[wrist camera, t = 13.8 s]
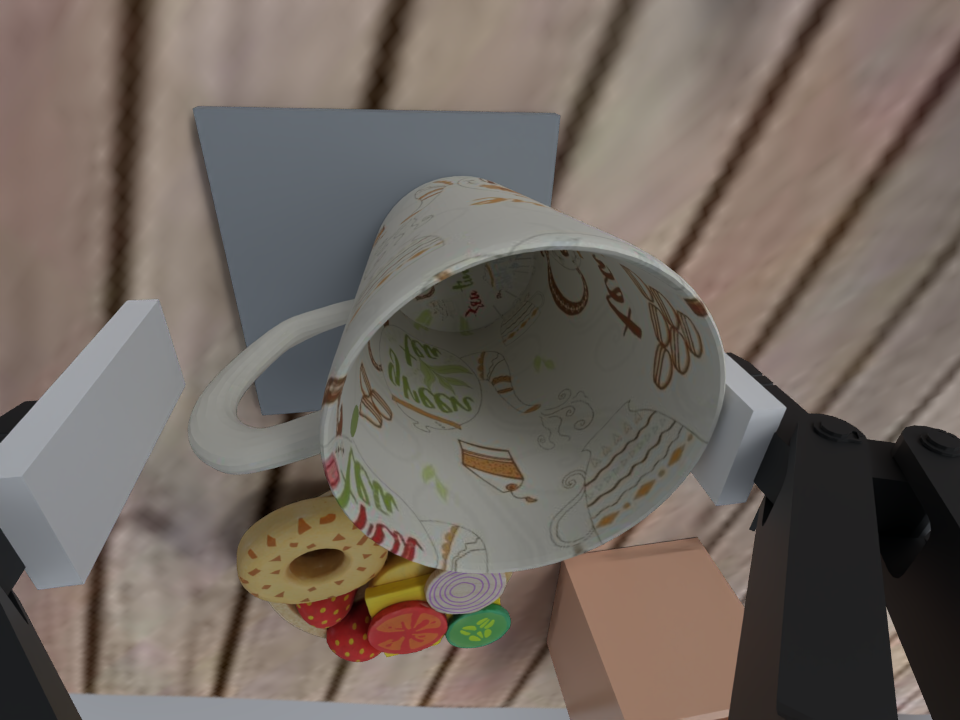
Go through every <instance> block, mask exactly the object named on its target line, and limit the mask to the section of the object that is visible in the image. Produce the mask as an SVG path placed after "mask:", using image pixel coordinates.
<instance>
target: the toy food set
mask: <svg viewBox="0 0 960 720" xmlns="http://www.w3.org/2000/svg"><path fill="white" fill-rule="evenodd" d="M237 572H238V577H239V580H240V582H241V584H242V585H243V586H244V588H245V589H246V590H247V591H248V592H249V593H251V594H252V595H254V596H255V597H257V598H260V599H262V600H265V601H268V602H269V603H270V605H271V606H272V608H273V609H274V610H275V611H276V612H277V613H278V614H279V615H280V616H281V617H282V618H283V619H284V620H286V621H287V622H289V623H290V624H292V625H293V626H295V627H297V628H299V629H301V630H303V631H305V632H307V633H310V634H312V635H315V636H318V637H322V638H326V639H327V643H328V645H329V647H330V649H331V650H332V651H333V652H334V653H335V654H336V655H338V656H339V657H341V658H343V659H345V660H348V661H352V662H363V661H367V660H370V659H372V658H374V657H376V656H377V655H379V654H380V653H381V652H384V653H385V655H386V657H390V656H394V655H398V654H408V653H413V652H417V651H421V650H423V649H425V648H428V647H429V646H434V645H437V644H439V643H440V641H441V639H442V637H443V636H444V635H445V636H446V638H447V641H448V642H449V643H450V644H452V645H453V646H456V647H459V648H476V647H481V646H485V645H488V644H490V643H492V642H494V641H496V640H498V639H499V638H501V637H502V636H503V635H504V634H505V633H506V632H507V631H508V629H509V628H510V625H511V619H510V616H509V613H508V612H507V610H506V609H504V608H503V607H502V606H501V604H500V596H501V594H502V593H503V591H504V589H505V586H506V584H507V582H508V581H509V579H510V578H511V576H512V573H513V572H504V573H462V572H454V571H447V570H442V569H437V568H433V567H428V566H425V565H422V564H419V563H416V562H413V561H410V560H408V559H405V558H403V557H401V556H398V555H396V554H394V553H392V552H390V551H389V550H387V549H385V548H383V547H381V546H380V545H379V544H377V543H376V542H374V541H373V540H371V539H370V538H369V537H367V536H366V535H365V534H364V533H363V532H362V531H361V530H359V529H358V528H357V527H356V526H355V525H354V524H353V522H352V521H351V520H350V519H349V518H348V517H347V516H346V514H345V513H344V511H343V510H342V509H341V507H340V506H339V504H338V503H337V501H336V499H335V497H334V495H333V493H332V491H331V490H330V491H328V492H326V493H324V494H322V495H320V496H318V497H316V498H311V499H306V500H302V501H298V502H296V503H292V504H289V505H287V506H284V507H282V508H279V509H277V510H275V511H273V512H271V513H270V514H268V515H266V516H265V517H263V518H262V519H260V520H259V521H257V522H256V523H255V524H254V525H253V526H251V527H250V528H249V529H248V530H247V531H246V532H245V534H244V535H243V537H242V538H241V540H240V543H239V545H238V549H237Z"/></svg>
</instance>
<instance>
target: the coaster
mask: <svg viewBox="0 0 960 720" xmlns="http://www.w3.org/2000/svg"><path fill="white" fill-rule="evenodd" d="M193 112H194V117H195V121H196V126H197V130H198V134H199V139H200V143H201V148H202V152H203V156H204V161H205V165H206V170H207V174H208V179H209V183H210V187H211V192H212V196H213V201H214V205H215V210H216V214H217V218H218V223H219V227H220V232H221V236H222V240H223V245H224V249H225V254H226V258H227V263H228V267H229V271H230V276H231V280H232V285H233V289H234V294H235V298H236V302H237V307H238V311H239V316H240V320H241V324H242V329H243V333H244V338H245V342H246V347H248V346H250V345H251V344H252V343H253V342H255V341H256V340H257V339H259V338H260V337H261V336H263V335H264V334H265V333H267V332H268V331H269V330H271V329H272V328H274V327H275V326H277V325H278V324H280V323H281V322H283V321H285V320H287V319H289V318H291V317H294V316H297V315H300V314H303V313H306V312H309V311H313V310H316V309H319V308H323V307H326V306H329V305H332V304H336V303H340V302H343V301H347V300H352V299H355V296H356V294H357V291H358V288H359V285H360V282H361V279H362V276H363V273H364V271H365V268H366V265H367V262H368V259H369V256H370V253H371V250H372V248H373V245H374V242H375V239H376V236H377V234H378V232H379V229H380V227H381V225H382V223H383V221H384V220H385V218H386V216H387V215H388V214H389V212H390V211H391V209H392V208H393V207H394V206H395V205H396V204H397V203H398V202H399V201H400V200H401V199H402V198H403V197H404V196H406V195H407V194H408V193H410V192H411V191H413V190H414V189H416V188H417V187H419V186H421V185H423V184H425V183H428V182H431V181H433V180H437V179H440V178H445V177H452V176H471V177H477V178H482V179H486V180H489V181H492V182H495V183H497V184H500V185H502V186H504V187H506V188H509V189H511V190H513V191H515V192H517V193H520V194H522V195H524V196H526V197H529V198H531V199H533V200H535V201H537V202H540V203H542V204H544V205H546V206H549V207H551V198H552V188H553V179H554V170H555V161H556V151H557V142H558V133H559V124H560V115H558V114H556V113H523V112H471V111H420V110H368V109H316V108H265V107H213V106H198V107H195V108H193ZM345 325H346V324H344V325H341V326H338V327H336V328H333V329H330V330H327V331H325V332H322V333H320V334H318V335H315V336H313V337H311V338H309V339H307V340H305V341H303V342H301V343H299V344H297V345H295V346H294V347H292V348H290V349H288V350H287V351H286V352H284V353H283V354H282V355H281V356H280V357H279V358H278V359H276V360H275V361H274V362H273V363H272V364H271V365H270V366H269V367H268V368H267V369H266V370H265V371H264V372H263V373H262V374H261V375H260V376H259V377H258V378H257V379H256V380H255V381H254V382H255V386H256V391H257V395H258V400H259V404H260V408H261V413H262V415H273V414H286V413H298V412H310V411H319V410H321V407H322V401H323V396H324V392H325V387H326V383H327V379H328V375H329V372H330V369H331V366H332V363H333V360H334V357H335V354H336V351H337V348H338V345H339V343H340V340H341V337H342V334H343V331H344V328H345Z"/></svg>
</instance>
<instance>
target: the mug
mask: <svg viewBox="0 0 960 720" xmlns="http://www.w3.org/2000/svg"><path fill="white" fill-rule="evenodd" d="M344 324H346V325H345V328H344V331H343V334H342V337H341V340H340V343H339V345H338V348H337V351H336V354H335V357H334V360H333V363H332V366H331V369H330V372H329V375H328V379H327V383H326V387H325V392H324V396H323V401H322V407H321V410H319V411H316V412H314V413H311V414H308V415H305V416H303V417H300V418H297V419H294V420H292V421H289V422H286V423H282V424H279V425H275V426H272V427H268V428H254V427H250V426H248V425H245V424H243V423H242V422H241V421H240V420H239V419H238V417H237V415H236V412H237V406H238V403H239V401H240V399H241V398H242V396H243V395H244V393H245V392H246V391H247V389H248V388H249V387H250V386H251V385H252V384H253V382H254V381H255V380H256V379H257V378H258V377H259V376H260V375H261V374H262V373H263V372H264V371H265V370H266V369H267V368H268V367H269V366H270V365H271V364H272V363H273V362H274V361H275V360H276V359H278V358H279V357H280V356H281V355H282V354H283V353H284V352H286V351H287V350H288V349H290V348H292V347H294V346H295V345H297V344H299V343H301V342H303V341H305V340H307V339H309V338H311V337H313V336H315V335H318V334H320V333H322V332H325V331H327V330H330V329H333V328H336V327H338V326H341V325H344ZM725 383H726V364H725V356H724V350H723V344H722V341H721V338H720V335H719V331H718V329H717V327H716V324H715V322H714V320H713V318H712V316H711V314H710V313H709V311H708V309H707V308H706V306H705V304H704V303H703V301H702V300H701V299H700V298H699V296H698V295H697V294H696V292H695V291H694V290H693V288H692V287H691V286H690V285H689V284H688V283H687V282H686V281H685V280H684V279H683V278H682V277H681V276H679V275H678V274H677V273H675V272H674V271H673V270H672V269H670V268H669V267H668V266H666V265H665V264H664V263H663V262H661V261H660V260H658V259H657V258H655V257H653V256H652V255H650V254H648V253H647V252H645V251H643V250H641V249H639V248H638V247H636V246H634V245H632V244H630V243H628V242H626V241H624V240H622V239H620V238H618V237H615V236H613V235H611V234H609V233H606V232H604V231H602V230H600V229H598V228H595V227H593V226H591V225H589V224H586V223H584V222H582V221H580V220H578V219H575V218H573V217H571V216H569V215H566V214H564V213H562V212H560V211H558V210H555V209H553V208H551V207H549V206H546V205H544V204H542V203H540V202H537V201H535V200H533V199H531V198H529V197H526V196H524V195H522V194H520V193H517V192H515V191H513V190H511V189H509V188H506V187H504V186H502V185H500V184H497V183H495V182H492V181H489V180H486V179H482V178H477V177H471V176H452V177H445V178H440V179H437V180H433V181H431V182H428V183H425V184H423V185H421V186H419V187H417V188H416V189H414V190H413V191H411V192H410V193H408V194H407V195H406V196H404V197H403V198H402V199H401V200H400V201H399V202H398V203H397V204H396V205H395V206H394V207H393V208H392V209H391V211H390V212H389V214H388V215H387V216H386V218H385V220H384V221H383V223H382V225H381V227H380V229H379V232H378V234H377V236H376V239H375V242H374V245H373V248H372V250H371V253H370V256H369V259H368V262H367V265H366V268H365V271H364V273H363V276H362V279H361V282H360V285H359V288H358V291H357V294H356V296H355V299H352V300H347V301H343V302H340V303H336V304H332V305H329V306H326V307H323V308H319V309H316V310H313V311H309V312H306V313H303V314H300V315H297V316H294V317H291V318H289V319H287V320H285V321H283V322H281V323H280V324H278V325H277V326H275V327H274V328H272V329H271V330H269V331H268V332H267V333H265V334H264V335H263V336H261V337H260V338H259V339H257V340H256V341H255V342H253V343H252V344H251V345H250V346H248V347H247V348H246V349H245V350H244V351H243V352H241V353H240V354H239V355H238V356H237V357H236V358H235V359H234V360H232V361H231V362H230V363H229V364H228V365H227V366H226V367H225V368H224V369H223V370H222V371H221V372H220V373H219V374H218V375H217V376H216V377H215V378H214V379H213V380H212V381H211V383H210V384H209V385H208V386H207V387H206V389H205V390H204V391H203V393H202V394H201V395H200V397H199V399H198V401H197V402H196V404H195V406H194V408H193V411H192V414H191V417H190V419H189V425H188V437H189V442H190V445H191V447H192V449H193V451H194V453H195V454H196V455H197V456H198V458H199V459H201V460H202V461H203V462H204V463H206V464H207V465H209V466H211V467H212V468H214V469H216V470H218V471H221V472H224V473H227V474H249V473H255V472H259V471H264V470H268V469H272V468H276V467H280V466H283V465H286V464H289V463H293V462H296V461H299V460H302V459H306V458H308V457H311V456H314V455H317V454H320V453H321V459H322V463H323V467H324V471H325V476H326V478H327V481H328V484H329V486H330V489H331V491H332V493H333V495H334V497H335V499H336V501H337V503H338V504H339V506H340V507H341V509H342V510H343V511H344V513H345V514H346V516H347V517H348V518H349V519H350V520H351V521H352V522H353V524H354V525H355V526H356V527H357V528H358V529H359V530H361V531H362V532H363V533H364V534H365V535H366V536H367V537H369V538H370V539H371V540H373V541H374V542H376V543H377V544H379V545H380V546H381V547H383V548H385V549H387V550H389V551H390V552H392V553H394V554H396V555H398V556H401V557H403V558H405V559H408V560H410V561H413V562H416V563H419V564H422V565H425V566H428V567H433V568H437V569H442V570H447V571H454V572H462V573H504V572H514V571H522V570H527V569H533V568H538V567H542V566H546V565H550V564H554V563H557V562H560V561H563V560H566V559H569V558H572V557H575V556H578V555H580V554H582V553H585V552H587V551H590V550H592V549H594V548H596V547H598V546H600V545H602V544H604V543H606V542H608V541H610V540H612V539H614V538H615V537H617V536H619V535H621V534H622V533H624V532H625V531H627V530H628V529H630V528H632V527H633V526H634V525H636V524H637V523H639V522H640V521H641V520H643V519H644V518H646V517H647V516H648V515H649V514H650V513H652V512H653V511H654V510H655V509H657V508H658V507H659V506H660V505H661V504H662V503H663V502H664V501H665V500H666V499H667V498H668V497H669V496H670V495H671V494H672V493H673V492H674V491H675V490H676V489H677V488H678V487H679V486H680V485H681V483H682V482H683V481H684V480H685V479H686V477H687V476H688V475H689V473H690V472H691V471H692V469H693V468H694V467H695V465H696V464H697V462H698V460H699V459H700V457H701V456H702V454H703V452H704V451H705V449H706V447H707V445H708V443H709V441H710V439H711V437H712V434H713V432H714V429H715V427H716V424H717V422H718V419H719V415H720V412H721V408H722V404H723V399H724V393H725Z"/></svg>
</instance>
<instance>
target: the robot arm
mask: <svg viewBox="0 0 960 720" xmlns="http://www.w3.org/2000/svg"><path fill="white" fill-rule="evenodd" d="M724 356H725V364H726V383H725V393H724V399H723V404H722V408H721V412H720V415H719V419H718V422H717V424H716V427H715V429H714V432H713V434H712V437H711V439H710V441H709V443H708V445H707V447H706V449H705V451H704V452H703V454H702V456H701V457H700V459H699V460H698V462H697V464H696V465H695V467H694V468H693V469H692V471H691V472H692V474H693V475H694V477H695V478H696V479H697V481H698V482H699V483H700V485H701V486H702V487H703V489H704V490H705V491H706V493H707V494H708V496H709V497H710V498H711V500H712V501H713V502H714V504H715V505H716V506H720V505H728V504H736V503H744V502H746V501H747V498H748V496H749V494H750V491H751V489H752V487H753V485H754V483H755V484H756V485H757V486H758V487H759V488H760V490H761V491H762V492H763V493H764V494H765V496H764V498H763V500H762V502H761V505H760V507H759V509H758V511H757V513H756V516H755V518H754V520H753V522H752V524H751V527H750V530H752V531H755V530H756V534H755V541H754V548H753V554H752V561H751V568H750V575H749V581H748V588H747V595H746V602H745V608H744V615H743V622H742V628H741V635H740V642H739V649H738V655H737V662H736V669H735V676H734V682H733V689H732V696H731V703H730V709H729V716H728V720H898V716H897V706H896V697H895V687H894V678H893V668H892V659H891V650H890V640H889V631H888V621H887V612H886V607H887V610H888V612H889V614H890V617H891V619H892V622H893V624H894V627H895V629H896V632H897V634H898V636H899V639H900V641H901V644H902V646H903V649H904V651H905V653H906V656H907V658H908V661H909V663H910V666H911V668H912V671H913V673H914V675H915V678H916V680H917V683H918V685H919V688H920V690H921V692H922V695H923V697H924V700H925V702H926V705H927V707H928V710H929V712H930V714H931V717H932V719H933V720H960V439H959V438H957V437H956V436H955V435H953V434H951V433H949V432H948V433H946V431H943V430H940V429H934V428H930V427H927V426H915V425H914V426H910V427H906V428H905V429H904V430H903V431H902V433H901V435H900V436H899V438H898V440H897V441H896V443H891V442H884V441H876V440H868V439H866V437H865V435H864V434H863V433H862V432H861V431H859V430H858V429H857V428H856V427H854V426H853V425H851V424H849V423H847V422H846V421H843V420H841V419H838V418H836V417H833V416H829V415H824V414H808V413H807V412H806V411H805V410H804V409H803V408H801V407H800V406H799V405H798V404H797V403H796V402H795V401H793V400H792V399H791V398H790V397H789V396H788V395H786V394H785V393H784V392H783V391H782V390H781V389H780V388H778V387H777V386H776V385H773V382H771V381H770V380H769V379H768V378H767V377H766V376H762V373H761V372H760V371H759V370H758V369H756V368H755V367H754V366H753V365H752V364H751V363H749V362H748V361H746V360H744V359H742V358H740V357H738V356H736V355H734V354H732V353H725V352H724ZM185 385H186V384H185V381H184V378H183V375H182V372H181V368H180V365H179V362H178V359H177V356H176V352H175V349H174V346H173V343H172V340H171V336H170V333H169V330H168V327H167V323H166V320H165V317H164V314H163V311H162V307H161V304H160V301H159V299H152V300H127V301H126V302H125V303H124V305H123V306H122V307H121V308H120V309H119V310H118V311H117V312H116V314H115V315H114V316H113V317H112V318H111V319H110V320H109V322H108V323H107V324H106V325H105V326H104V327H103V328H102V329H101V331H100V332H99V333H98V334H97V335H96V336H95V337H94V338H93V340H92V341H91V342H90V343H89V344H88V345H87V346H86V347H85V349H84V350H83V351H82V352H81V353H80V354H79V355H78V356H77V358H76V359H75V360H74V361H73V362H72V363H71V364H70V365H69V367H68V368H67V369H66V370H65V371H64V372H63V373H62V374H61V376H60V377H59V378H58V379H57V380H56V381H55V382H54V383H53V385H52V386H51V387H50V388H49V389H48V390H47V391H46V392H45V394H44V395H43V396H42V397H41V398H40V399H39V400H38V401H26V402H23V403H22V404H20V405H18V406H17V407H15V408H14V409H12V410H10V411H9V412H7V413H6V414H4V415H2V416H1V417H0V720H82V719H81V717H80V715H79V713H78V712H77V709H76V707H75V706H74V704H73V702H72V700H71V698H70V696H69V694H68V692H67V690H66V688H65V686H64V684H63V682H62V681H61V679H60V677H59V675H58V673H57V671H56V669H55V667H54V665H53V663H52V661H51V659H50V658H49V656H48V654H47V652H46V650H45V648H44V646H43V644H42V642H41V640H40V638H39V637H38V635H37V633H36V631H35V629H34V627H33V625H32V623H31V621H30V619H29V617H28V615H27V614H26V612H25V610H24V608H23V606H22V604H21V602H20V600H19V599H18V597H17V596H16V594H15V593H14V592H13V590H12V588H13V587H14V585H15V584H16V582H17V580H18V579H19V577H20V576H21V574H22V573H23V571H24V570H25V571H26V573H27V574H28V576H29V577H30V579H31V580H32V582H33V583H34V585H35V586H36V588H37V589H38V590H40V589H48V588H56V587H64V586H72V585H80V584H84V583H85V581H86V579H87V577H88V575H89V573H90V571H91V569H92V567H93V565H94V563H95V561H96V559H97V557H98V555H99V553H100V552H101V550H102V548H103V546H104V544H105V542H106V540H107V538H108V536H109V534H110V532H111V530H112V528H113V526H114V524H115V522H116V520H117V518H118V516H119V514H120V512H121V510H122V508H123V506H124V505H125V503H126V501H127V499H128V497H129V495H130V493H131V491H132V489H133V487H134V485H135V483H136V481H137V479H138V477H139V475H140V473H141V471H142V469H143V467H144V465H145V463H146V461H147V460H148V458H149V456H150V454H151V452H152V450H153V448H154V446H155V444H156V442H157V440H158V438H159V436H160V434H161V432H162V430H163V428H164V426H165V424H166V422H167V420H168V418H169V416H170V414H171V413H172V411H173V409H174V407H175V405H176V403H177V401H178V399H179V397H180V395H181V393H182V391H183V389H184V387H185ZM930 530H931V531H930Z"/></svg>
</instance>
